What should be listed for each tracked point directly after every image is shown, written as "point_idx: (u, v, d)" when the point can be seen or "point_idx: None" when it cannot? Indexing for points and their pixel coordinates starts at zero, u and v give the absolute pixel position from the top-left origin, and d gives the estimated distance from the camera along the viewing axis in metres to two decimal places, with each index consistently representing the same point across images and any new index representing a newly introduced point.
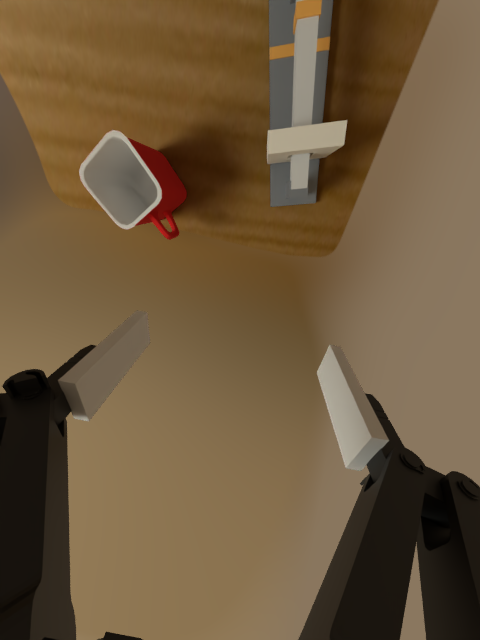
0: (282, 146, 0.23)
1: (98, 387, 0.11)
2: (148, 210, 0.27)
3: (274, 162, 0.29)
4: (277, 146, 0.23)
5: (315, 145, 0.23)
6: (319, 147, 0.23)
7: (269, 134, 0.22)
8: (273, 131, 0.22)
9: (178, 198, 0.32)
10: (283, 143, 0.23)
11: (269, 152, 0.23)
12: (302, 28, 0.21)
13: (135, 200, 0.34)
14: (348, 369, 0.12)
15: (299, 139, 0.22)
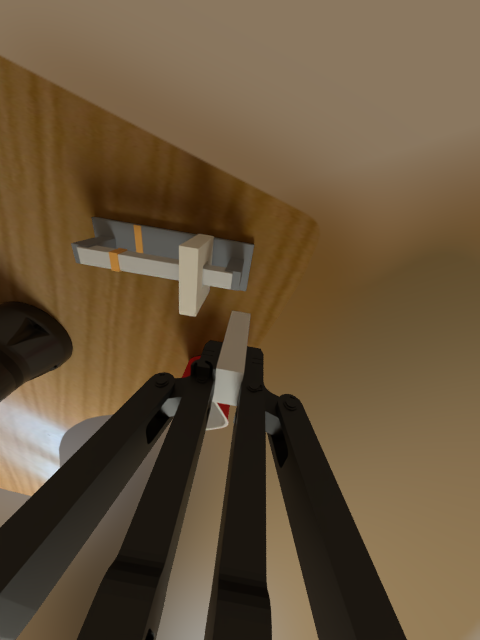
0: (191, 304, 0.24)
1: None
2: (218, 407, 0.32)
3: (208, 286, 0.31)
4: (191, 308, 0.25)
5: (194, 276, 0.23)
6: (197, 272, 0.22)
7: (181, 313, 0.25)
8: (180, 310, 0.25)
9: None
10: (189, 303, 0.24)
11: (194, 315, 0.25)
12: (124, 267, 0.26)
13: None
14: (245, 329, 0.15)
15: (188, 290, 0.23)
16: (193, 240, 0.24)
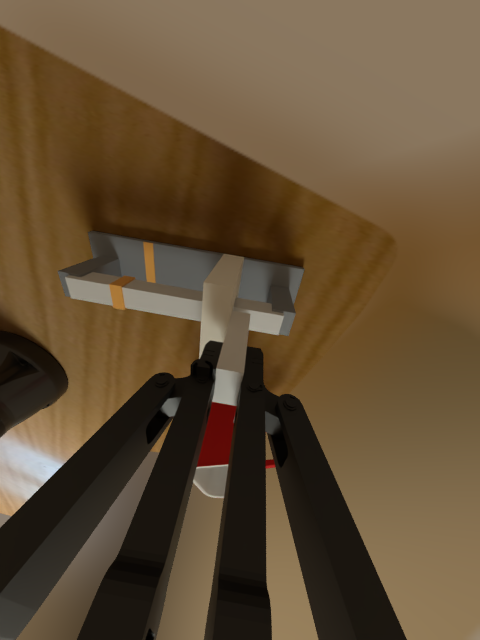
0: None
1: None
2: None
3: None
4: None
5: (224, 324, 0.15)
6: (228, 319, 0.15)
7: None
8: None
9: None
10: None
11: None
12: (131, 303, 0.19)
13: None
14: (245, 329, 0.15)
15: None
16: (221, 268, 0.17)
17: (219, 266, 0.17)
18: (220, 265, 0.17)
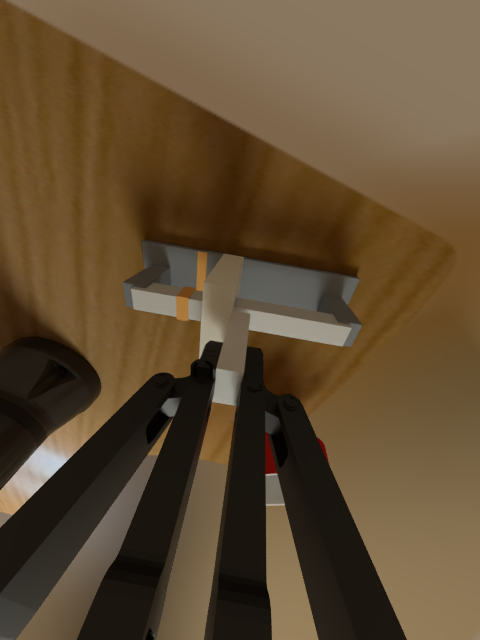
0: None
1: None
2: None
3: None
4: None
5: (224, 324, 0.15)
6: (228, 318, 0.15)
7: None
8: None
9: None
10: None
11: None
12: (195, 315, 0.19)
13: None
14: (245, 329, 0.15)
15: None
16: (221, 268, 0.17)
17: (219, 266, 0.17)
18: (220, 265, 0.17)
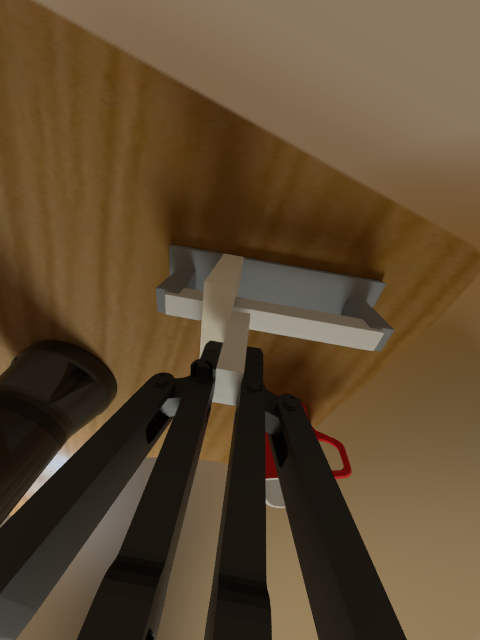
0: None
1: None
2: None
3: None
4: None
5: (225, 323, 0.15)
6: (228, 318, 0.15)
7: None
8: None
9: None
10: None
11: None
12: None
13: None
14: (245, 329, 0.15)
15: (214, 340, 0.16)
16: (221, 268, 0.17)
17: (219, 266, 0.17)
18: (220, 265, 0.17)
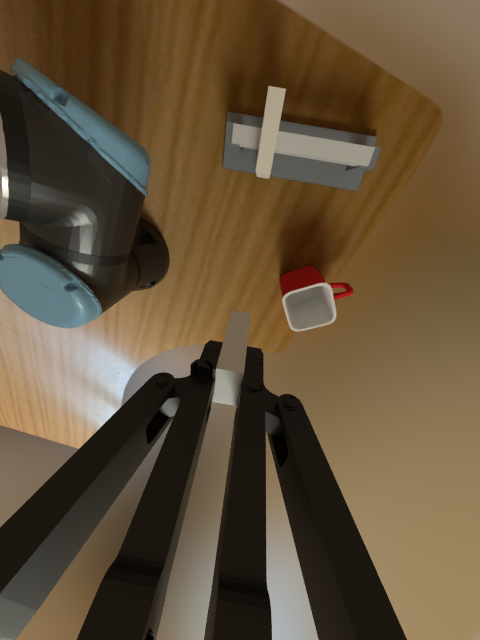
0: (269, 158, 0.27)
1: None
2: (332, 298, 0.35)
3: None
4: (267, 164, 0.27)
5: (277, 123, 0.25)
6: (279, 118, 0.25)
7: (258, 170, 0.28)
8: (257, 166, 0.27)
9: (319, 273, 0.40)
10: (267, 157, 0.27)
11: (269, 172, 0.28)
12: None
13: (304, 305, 0.45)
14: (245, 329, 0.15)
15: (268, 140, 0.26)
16: None
17: None
18: None
